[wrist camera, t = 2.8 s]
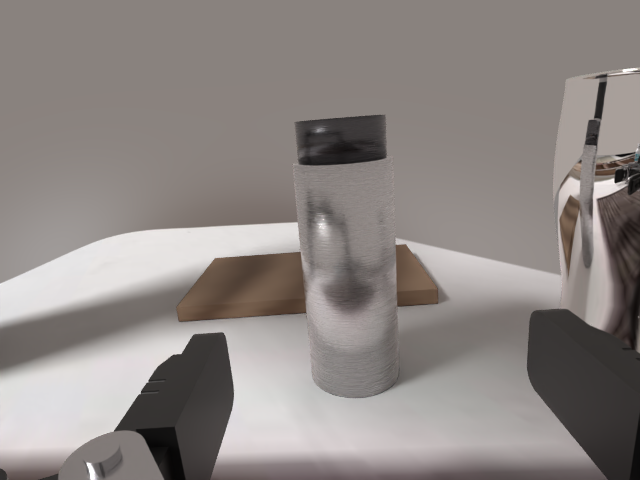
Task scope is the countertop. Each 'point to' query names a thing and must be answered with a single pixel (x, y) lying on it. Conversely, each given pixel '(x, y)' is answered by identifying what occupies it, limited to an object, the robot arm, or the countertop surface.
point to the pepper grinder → (348, 253)
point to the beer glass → (600, 201)
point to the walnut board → (281, 286)
